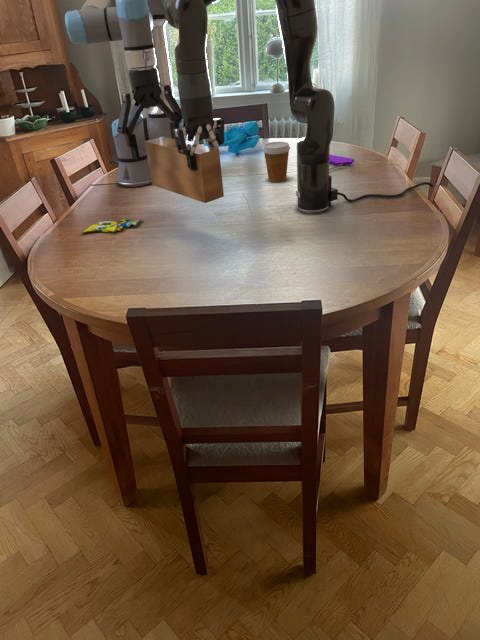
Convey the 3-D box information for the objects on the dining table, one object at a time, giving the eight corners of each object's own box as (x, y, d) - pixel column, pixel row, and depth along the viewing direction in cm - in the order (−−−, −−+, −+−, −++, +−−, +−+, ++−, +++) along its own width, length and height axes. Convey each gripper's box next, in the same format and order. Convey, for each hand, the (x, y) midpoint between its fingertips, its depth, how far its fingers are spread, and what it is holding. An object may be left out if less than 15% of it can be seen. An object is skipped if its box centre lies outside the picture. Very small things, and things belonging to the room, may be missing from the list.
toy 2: (197, 135, 216) (259, 115, 206) (205, 158, 221) (266, 140, 211) (186, 144, 203) (252, 124, 192) (195, 169, 208) (260, 150, 198)
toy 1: (130, 230, 139) (81, 231, 142) (130, 232, 140) (82, 234, 142) (140, 217, 148) (94, 218, 150) (141, 219, 148) (95, 221, 151)
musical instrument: (342, 175, 173) (362, 153, 185) (341, 169, 172) (361, 148, 184) (283, 174, 186) (305, 153, 198) (282, 169, 184) (305, 148, 196)
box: (152, 185, 137) (144, 141, 131) (170, 179, 141) (162, 136, 134) (205, 203, 121) (199, 154, 114) (224, 196, 124) (219, 148, 117)
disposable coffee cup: (260, 182, 170) (258, 147, 164) (269, 174, 177) (267, 141, 171) (286, 183, 167) (285, 148, 160) (294, 175, 174) (293, 141, 168)
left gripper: (106, 76, 114) (125, 166, 126) (190, 61, 127) (200, 144, 139) (91, 75, 119) (111, 161, 131) (174, 60, 131) (184, 140, 143)
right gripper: (179, 100, 105) (189, 177, 114) (229, 89, 112) (235, 162, 121) (160, 98, 110) (172, 172, 119) (209, 88, 117) (217, 158, 126)
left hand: (156, 152), depth 135 cm, fingers open, 13 cm apart
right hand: (204, 166), depth 120 cm, fingers closed on box, 6 cm apart
